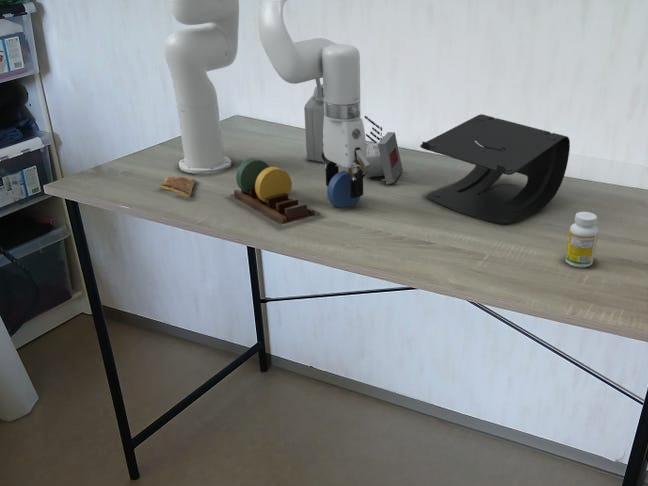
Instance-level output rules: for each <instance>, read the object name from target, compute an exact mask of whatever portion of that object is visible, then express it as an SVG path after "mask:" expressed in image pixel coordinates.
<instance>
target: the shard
mask: <svg viewBox="0 0 648 486" xmlns="http://www.w3.org/2000/svg"><path fill="white" fill-rule="evenodd" d="M195 184H196V179H195V178H192V177H187V176H168V177H166V178H165V180H164V181H163V182H162V183H161V184H159V188H160V189H163V190H167V191H170V192H172V193H175V194H179V195H181V196H185V197H191V198H192V191H193V189H194V185H195Z"/></svg>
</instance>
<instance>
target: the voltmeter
mask: <svg viewBox="0 0 648 486" xmlns="http://www.w3.org/2000/svg"><path fill="white" fill-rule="evenodd" d="M364 119H366V120H367V121H368V122H369V123H371V124H372V125H373V126H372V127H371V130H372V131H374V132H375V133H376V134H377V135H379V136H380V137H379V136H377V135H376V134H375V133H374V132H372V131H370V135H371V136H373V137H374V138H375V139H376V140H378V141H376V140H375V139H374V138H372V137H371V136H370V135H368V134H367V133H365V137H366V138H368V139H370V141H371V142H372V143H366V156H367V161H368V162H369V164H370V167H369V169H368V171H367V174H366V176H367V177H368V178H374V177H375V178H377V177H381V176H382V177H383V176H384V179H380V181H381V182H385V185H387V186H388V185H390V184H393V183H395V182H396V180H397V179H398V178H399V176H400V175H401V173H402V172H403V166H402V160H401V156H400V150H399V145H398V141H397V135H396V132H395V131H394V132H393V131H388V132H386V134H385V135H383V133H382V132H383V128H382V126H379V124H377V123H375V121H373V120H372V119H370V118H369V117H368V116H367V115H364ZM374 126H375V127H376V128H377V129H379V130H380V131H381V132H380V131H379V130H377V129H376V128H374Z"/></svg>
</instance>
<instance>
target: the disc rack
mask: <svg viewBox="0 0 648 486" xmlns="http://www.w3.org/2000/svg"><path fill="white" fill-rule="evenodd" d="M248 191H249V194H247V193H245V192H244V191H242V190H241V189H234V190H233V193H231V194H229V196H230V197H232V198H233V199H235V200H237V201H239V202H240V203H242V204H243V205H245V206H247V207H249V208H251V209H252V210H254V211H256V212H257V213H259V214H261V215H262V216H264V217H266V218H267V219H269V220H271V221H273V222H274V223H275V224H278V225H279V226H281V225H285V224H290V223H293V222H297V221H299V220H304V219H307V218H310V217H314V216H315V217H316V216H319V215H321V213H320V212H318V211H316V209H314V208H313V207H311V206H309V205H308V204H307V203H306V202H301V201H300V200H299V199H298V198H296V197H295V198H294V197H292V196H291V195H289V196H288V194H287V193H283V194H279V195H275V196H271V197H267V198H266V203H265V202H263V201H262V200H260V199H259V197H258V196H257V194H256V191H255V186H254V187H250V188H248Z"/></svg>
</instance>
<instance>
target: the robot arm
mask: <svg viewBox="0 0 648 486" xmlns="http://www.w3.org/2000/svg"><path fill="white" fill-rule="evenodd" d="M287 1H288V0H258V2H259V8H258V14H257V15H258V17H257V19H258V20H257V22H258V33H259V39H260V43H261V46H262V48H263V50H264V53H265V54H266V56H267V58H268V60H269V62H270V63H271V65H272V68H273V69H274V71H275V72H276V73H277V75H278V76H279V77H280V78H281V79H282V80H283V81H284V82H286V83H288V84H293V85H295V84H302V83H305V82H308V81H309V82H310V81H313V80H316V79H318V78H320V79H322V84H323V94H324V124H323V142H322V143H321V144H319V148H320V151H321V154H322V159H323V161H324V163H323V168H325V172H324V173H325V186H326V187H328V185H329V183H330V181H331V179H332V178H333V176H334V175H336V174H337V173H339V172H340V169H339V168H340V167H339V166H341V167H343V168H345V169H347V171H348V172H349V173H350V176H351V178H352V180H350V197H351V198H356V197H360V198H361V197H362V196H364V179H365V178H366V176H367V171H368V169H369V167H370V164H369V162H368V161H367V156H366V144H367V142H366V141H367V139H366V133H365V131H366V130H365V126H364V125H365V124H364V121H363V118H362V116H361V114H362V113H361V56H360V55H361V54H360V51H359V49H358V48H357V47H356V46H353V45H351V44H343V43H340V44H339V43H336V42H334V41H331V40H329V39H327V38H322V37H317V38H311V39H305V40H300V41H295V42H294V41H293V39H292V37H291V36H290V34H289V32H288V29H287V27H286V25H285V21H284V13H283V12H284V11H283V10H284V6H285V3H286V2H287ZM170 9H171V12H172V15H173V18H174V20H176V22H178V23H180V24H181V25H185V26H196V27H190V28H184V29H179V30H176V31H173V32H172V33H171V34H169V35H168V37H167V38H166V39H165V40H164V45H163V53H164V59H165V61H166V64H167V67H168V70H169V73H170V76H171V81H172V86H173V91H174V98H175V103H176V110H177V115H178V123H179V130H180V137H181V143H182V144H181V145H182V150H183V157H184V158H182V159H181V160H179V162H178V167H179V170H181V171H182V172H183V173H186V174H187V173H188V174H193V175H201V174H203V173H208V172H209V173H211V172H217V171H220V170H225V169H228V168H230V167H232V159H231V158H229V157H228V156H226V155H225V152H224V145H223V143H224V142H223V135H222V127H221V126H222V125H221V120H220V119H221V118H220V110H219V102H218V94H217V90H216V87H215V86H214V83H213V82H212V80H211V79H210V78H209V76H208V73H207V72H210V71H211V72H212V71H215V70H219V69H223V68H227V67H229V66H231V65H232V64H233V63H234V62H235V60H236V58H237V54H238V50H239V49H238V48H239V29H240V28H239V25H240V1H239V0H170ZM205 24H206V25H205ZM197 25H204V26H198V27H197ZM353 163H354V164H353ZM355 169H356V171H355Z"/></svg>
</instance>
